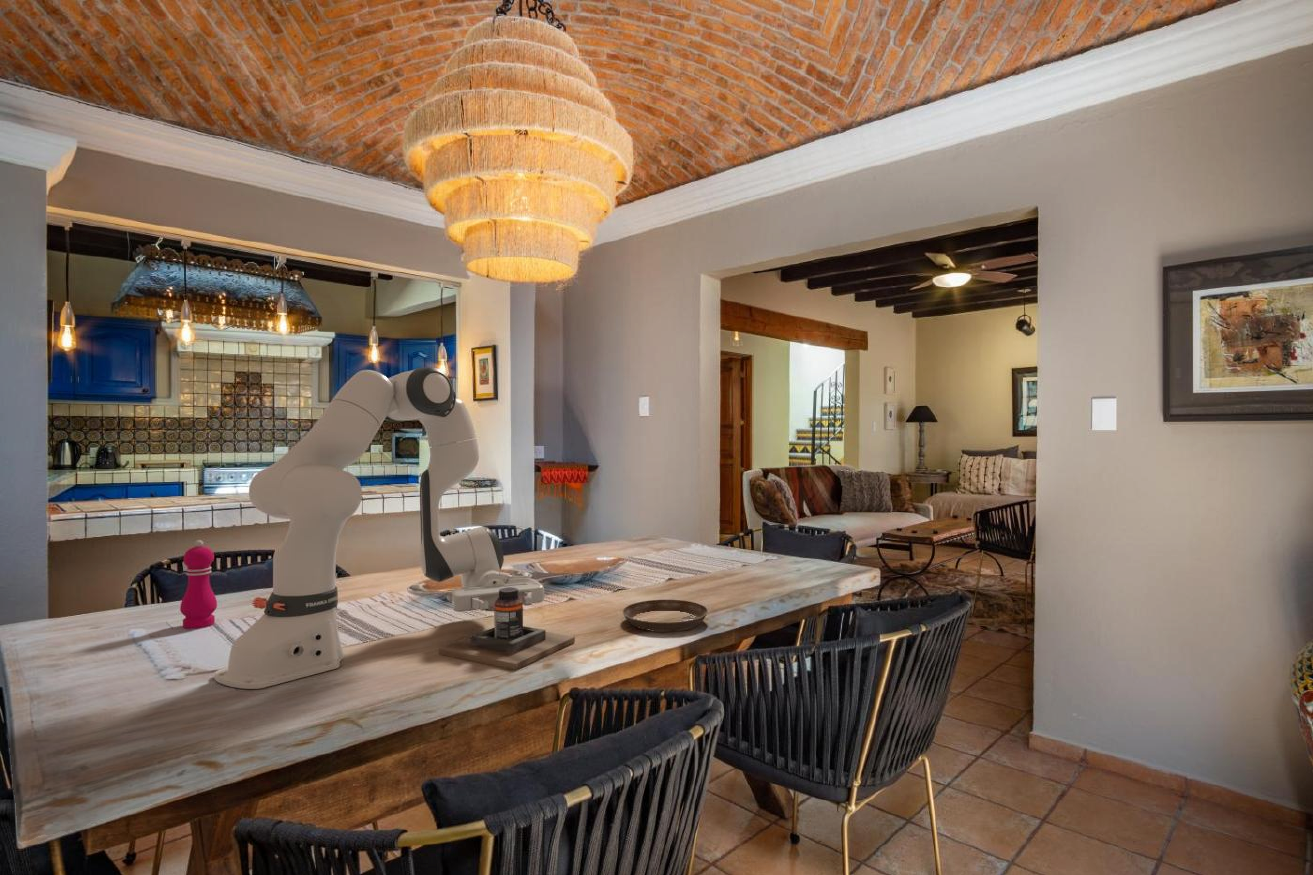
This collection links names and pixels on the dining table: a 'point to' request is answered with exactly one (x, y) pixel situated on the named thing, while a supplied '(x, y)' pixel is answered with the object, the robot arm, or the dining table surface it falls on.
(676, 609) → the plant saucer
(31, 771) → the dining table surface
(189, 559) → the pepper mill
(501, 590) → the supplement bottle
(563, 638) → the dock
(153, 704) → the dining table surface
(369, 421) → the robot arm
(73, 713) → the dining table surface
